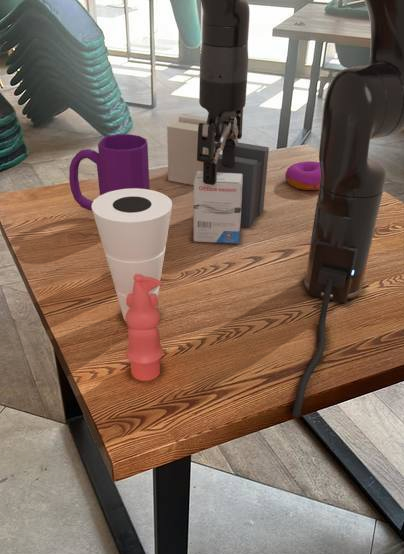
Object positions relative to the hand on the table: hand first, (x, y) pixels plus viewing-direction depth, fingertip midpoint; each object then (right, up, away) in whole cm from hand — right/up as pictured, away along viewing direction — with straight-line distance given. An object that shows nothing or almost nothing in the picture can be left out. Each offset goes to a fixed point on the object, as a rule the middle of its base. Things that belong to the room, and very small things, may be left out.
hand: (219, 174), depth 100 cm
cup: (-13, -26, -13) cm, 32 cm away
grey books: (+4, -3, +15) cm, 16 cm away
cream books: (-5, +9, +30) cm, 32 cm away
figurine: (-11, -34, -23) cm, 42 cm away
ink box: (0, -10, +7) cm, 12 cm away
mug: (-21, -4, +13) cm, 25 cm away
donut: (+21, +6, +28) cm, 35 cm away
